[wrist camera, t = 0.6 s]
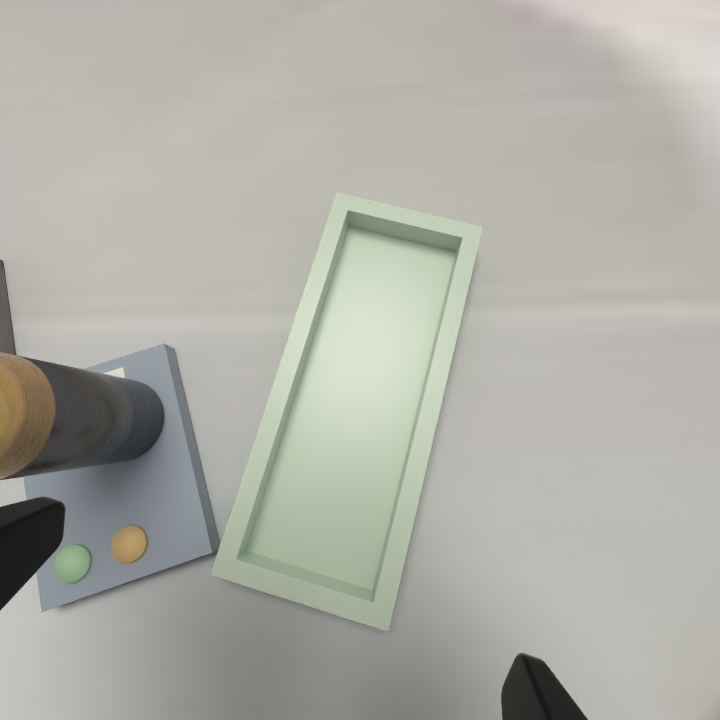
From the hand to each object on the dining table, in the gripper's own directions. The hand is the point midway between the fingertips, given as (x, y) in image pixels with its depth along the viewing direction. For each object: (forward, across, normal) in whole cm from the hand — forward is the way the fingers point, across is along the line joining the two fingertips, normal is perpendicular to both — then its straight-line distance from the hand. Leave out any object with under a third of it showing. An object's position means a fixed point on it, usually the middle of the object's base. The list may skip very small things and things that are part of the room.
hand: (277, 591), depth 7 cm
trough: (+16, 0, +1) cm, 16 cm away
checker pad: (+13, +12, +8) cm, 20 cm away
